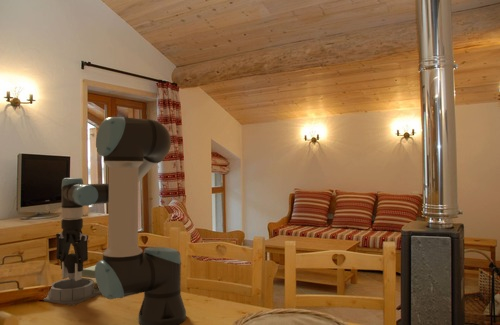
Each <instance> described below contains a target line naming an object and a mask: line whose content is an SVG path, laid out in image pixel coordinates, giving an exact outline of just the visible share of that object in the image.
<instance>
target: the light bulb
mask: <svg viewBox="0 0 500 325" xmlns="http://www.w3.org/2000/svg"><path fill="white" fill-rule="evenodd" d="M76 262H77V260H76V256H75V252H73V253H72V252H71V253H69V254H68V255H67V256H66V257H65V259H64V264H65V266H66V268H67V270H68V274H69V277H68V279H71V280H73V279H74V278H75V263H76Z"/></svg>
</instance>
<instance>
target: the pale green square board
mask: <svg viewBox="0 0 500 325" xmlns="http://www.w3.org/2000/svg"><path fill="white" fill-rule="evenodd" d="M95 266H96V264H95V265H91V266H89V267H86V268H85V267H83V271H82V278H88V279H96V278H95Z"/></svg>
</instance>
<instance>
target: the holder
mask: <svg viewBox="0 0 500 325" xmlns="http://www.w3.org/2000/svg"><path fill="white" fill-rule="evenodd" d="M51 284H52V287H51V289H50V291H49V290H48V293H47V294H46V295H47V297H46V298H44V299H43V300H44V301H43V302H49V303H54V304H59V305H61V304H62V305H68V306H75V305H78V304H80V303H82V302H85V301H87V300H89V299H92V298H93V297H96V296H98V295H100V294H101V292H100V290H99V289H95V281H94V280H93V279H92V278H88V277H82V279H80V280H78V281H75V278H74V279H73V280H71V279H69V278H65V279H59V280H57V281H54V282H51ZM101 295H102V294H101Z"/></svg>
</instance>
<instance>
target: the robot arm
mask: <svg viewBox="0 0 500 325" xmlns="http://www.w3.org/2000/svg"><path fill="white" fill-rule="evenodd" d="M95 138H96V139H95V148H96V151H97V154H98V155H99V156H101V157H103V163H104V164H105V165H106V167H108V183H84V180H83V178H82V177H64V178H63V179H61V180H62V181H61V186H60V188H61V218H62V219H61V226H60V227H61V230H62V231H61V232H59V233H56V234H55V237H56V255H55V256H56V258H55V259H56V260H59V262H60V269H61V280H65V279H69V274H68V270H67V268H66V266H65V264H64V259H65V257H66V256H67V255H68V254H70V249H71V245H72V246H73V250H74V254H75V256H76V260H77V262H76V263H75V281H78V280H80V279H82V278H83V277H82V271H83V268H84V262H87V261H88V260H89V258H88V257H89V256H88V255H89V254H88V240H89V234H83V231H82V229H83V226H84V224H83V223H84V219H83V216H84V215H83V214H84V209H83V208H84V207H87V206H92V205H103V204H108V220H107V221H108V223H107V224H108V226H107V227H108V230H107V231H108V232H107V233H108V238H107V240H108V242H107V243H108V244H107V245H108V246H107V248H105V249H104V251H103V252H102V259H100V260H99V261H97V262H96V264H95V265H96V266H95V278H94V279H95V282H96V286H97V287H98V290H100V292H101V295H102V296H103V297H104V298H106V299H108V300H116V299H123V298H125V297H130V296H133V295H138V294H143V300H142V303H141V306H140V309H139V311H138V323H139V324H140V325H180V324H182V323H184V322H185V321H186V318H187V310H186V307H185V304H184V301H183V297H182V292H181V287H182V286H181V285H182V284H181V283H182V282H181V281H182V280H181V279H182V278H181V274H182V273H181V272H182V268H181V267H182V266H181V265H182V259H181V258H182V256H181V252H180V251H179V250H178V249H175V248H171V247H162V246H149V247H145V248H144V250H143V249H142V248H141V247H140V246H139V245H138V244H139V237H138V236H139V183H140V181H141V180H142V179H143V178H144V176H146V174H147V173H148V172H150V170H151V169H152V168H153V167H154V166H155V164H159V163H161V162H163V160H164V159H165V158H166V157H167V156H168V154H169V153H170V150H171V148H172V147H171V145H172V139H171V135H170V132H169V130H168V128H167V127H166V126H165V125H163V124H162V123H161V122H160V121H157V120H153V119H145V118H135V117H125V116H110V117H106V118H105V119H104V120H103V121H102V122H101V123H100V126H99V128H98V130H97V132H96V137H95Z"/></svg>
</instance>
